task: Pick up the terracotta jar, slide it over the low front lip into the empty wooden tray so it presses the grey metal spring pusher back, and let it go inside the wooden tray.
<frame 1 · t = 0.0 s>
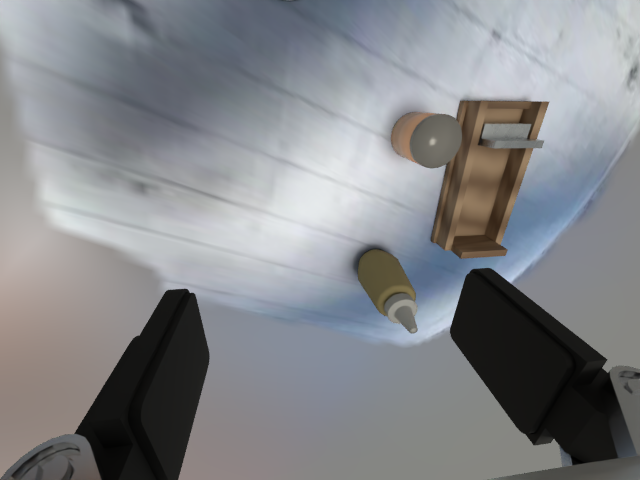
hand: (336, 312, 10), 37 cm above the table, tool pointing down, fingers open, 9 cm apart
squeeze bottle: (372, 261, 54), on the table
jar: (411, 135, 44), on the table
pusher: (506, 134, 41), point 4 cm above the table, slide at 0.0 cm
wooden tray: (477, 172, 48), on the table
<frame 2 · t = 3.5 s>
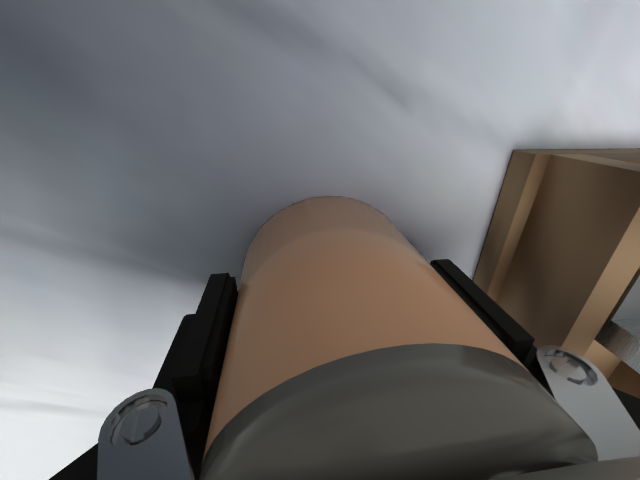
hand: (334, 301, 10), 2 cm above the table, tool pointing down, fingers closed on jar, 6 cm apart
jar: (326, 273, 12), on the table, touching gripper
wooden tray: (545, 346, 16), on the table
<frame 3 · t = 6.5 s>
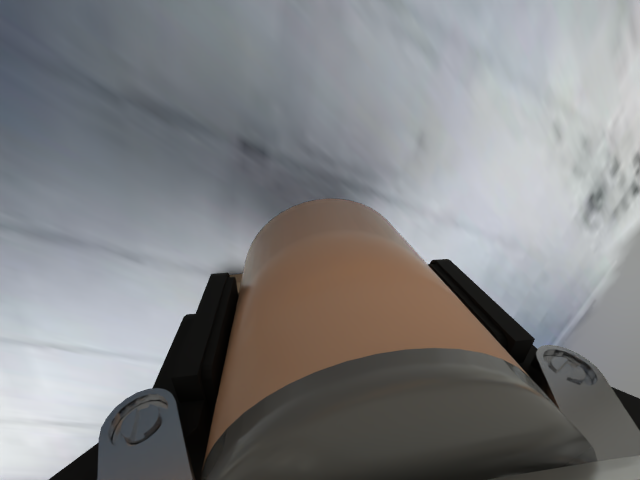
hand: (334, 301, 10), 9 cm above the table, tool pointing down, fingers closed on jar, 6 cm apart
jar: (326, 275, 12), point 7 cm above the table, touching gripper
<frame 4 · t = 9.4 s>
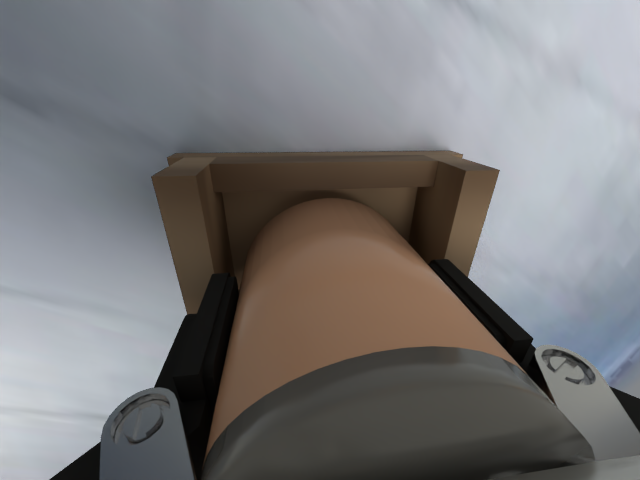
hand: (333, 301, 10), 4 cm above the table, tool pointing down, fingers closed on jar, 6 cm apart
jar: (326, 274, 12), point 3 cm above the table, touching gripper, pusher
wooden tray: (318, 338, 17), on the table
when the fingers open (4 cm above the table, at t = 9.7 s): jar drops 2 cm, resting on wooden tray, pusher.
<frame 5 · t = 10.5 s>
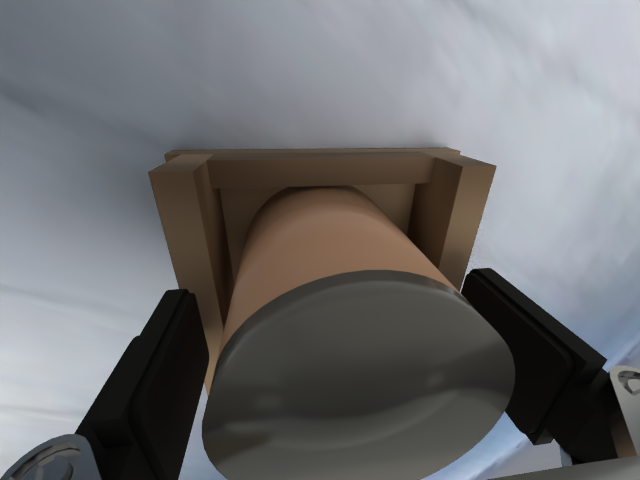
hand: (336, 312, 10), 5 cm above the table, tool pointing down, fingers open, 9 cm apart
jar: (318, 250, 13), point 1 cm above the table, touching wooden tray, pusher
wooden tray: (317, 335, 17), on the table
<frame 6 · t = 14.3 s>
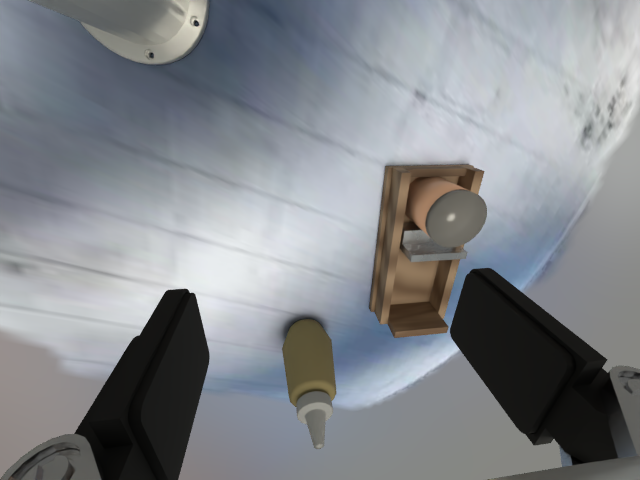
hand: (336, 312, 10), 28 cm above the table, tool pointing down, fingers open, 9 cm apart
squeeze bottle: (305, 330, 48), on the table
jar: (425, 198, 38), point 1 cm above the table, touching wooden tray, pusher
pusher: (430, 240, 38), point 4 cm above the table, slide at 4.8 cm, touching jar
wooden tray: (414, 238, 42), on the table
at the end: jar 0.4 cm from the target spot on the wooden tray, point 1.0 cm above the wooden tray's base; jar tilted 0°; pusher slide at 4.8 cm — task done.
